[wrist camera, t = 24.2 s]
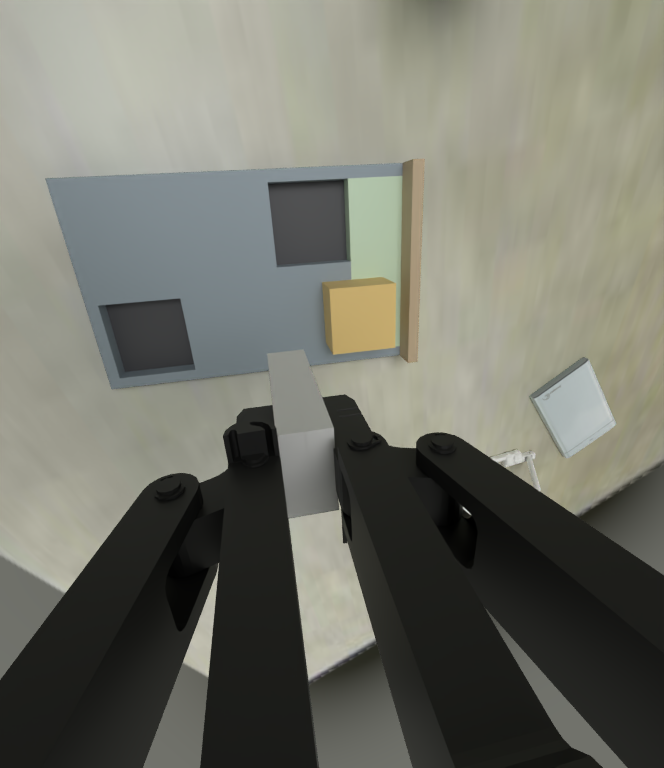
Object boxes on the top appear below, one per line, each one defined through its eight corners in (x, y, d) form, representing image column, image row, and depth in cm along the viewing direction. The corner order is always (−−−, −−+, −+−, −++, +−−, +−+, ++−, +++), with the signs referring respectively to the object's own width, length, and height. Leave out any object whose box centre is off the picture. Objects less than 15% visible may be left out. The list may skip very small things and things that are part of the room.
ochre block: (325, 342, 40) (333, 354, 36) (322, 282, 37) (329, 289, 33) (382, 335, 40) (395, 347, 37) (382, 277, 38) (396, 283, 34)
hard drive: (534, 399, 49) (567, 460, 54) (590, 359, 48) (619, 424, 53) (525, 393, 50) (559, 453, 55) (580, 354, 49) (608, 419, 54)
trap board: (118, 381, 39) (102, 400, 35) (57, 180, 32) (28, 175, 28) (402, 348, 44) (417, 361, 40) (405, 165, 36) (424, 158, 32)
